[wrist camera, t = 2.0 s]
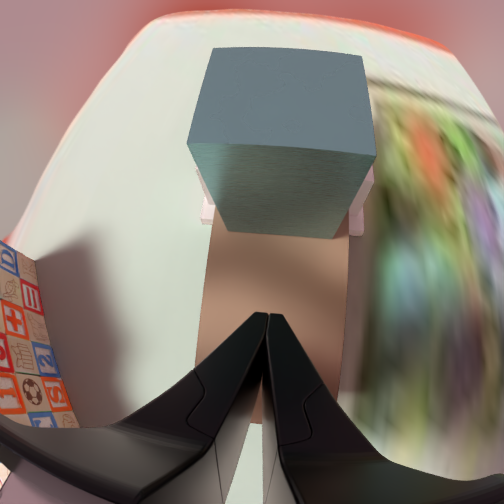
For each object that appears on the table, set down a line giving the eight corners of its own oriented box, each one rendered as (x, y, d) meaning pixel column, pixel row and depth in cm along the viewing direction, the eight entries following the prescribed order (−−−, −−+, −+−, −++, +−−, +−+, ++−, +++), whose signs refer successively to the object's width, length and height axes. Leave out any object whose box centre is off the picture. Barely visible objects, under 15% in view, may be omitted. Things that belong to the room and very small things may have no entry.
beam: (327, 407, 20) (341, 428, 15) (202, 395, 21) (181, 412, 16) (338, 111, 26) (346, 71, 21) (240, 104, 27) (234, 65, 22)
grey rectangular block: (331, 239, 18) (376, 155, 9) (227, 231, 18) (186, 143, 9) (332, 163, 19) (361, 56, 10) (237, 156, 19) (213, 48, 11)
